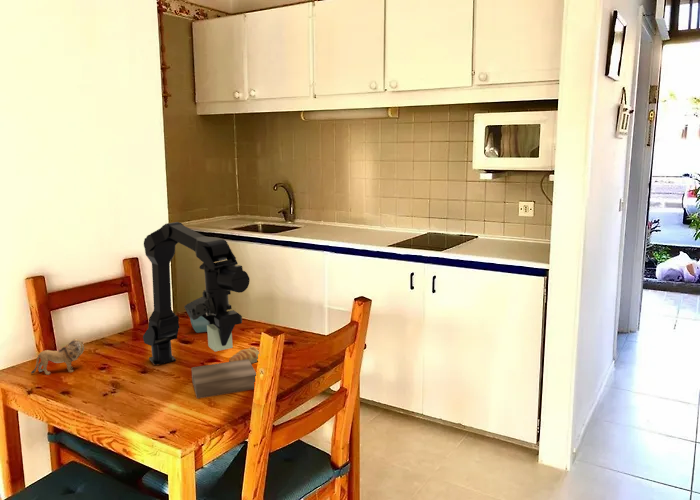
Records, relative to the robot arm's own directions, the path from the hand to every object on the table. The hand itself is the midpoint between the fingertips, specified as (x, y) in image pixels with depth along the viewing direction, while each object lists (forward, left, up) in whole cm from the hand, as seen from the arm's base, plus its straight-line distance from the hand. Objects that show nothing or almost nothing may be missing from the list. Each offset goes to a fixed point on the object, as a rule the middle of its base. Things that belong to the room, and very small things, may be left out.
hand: (220, 342), depth 159 cm
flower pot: (-48, +11, -12) cm, 51 cm away
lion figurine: (-38, -36, -12) cm, 53 cm away
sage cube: (0, 0, -1) cm, 1 cm away
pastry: (-12, +12, -13) cm, 21 cm away
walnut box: (0, 0, -13) cm, 13 cm away
